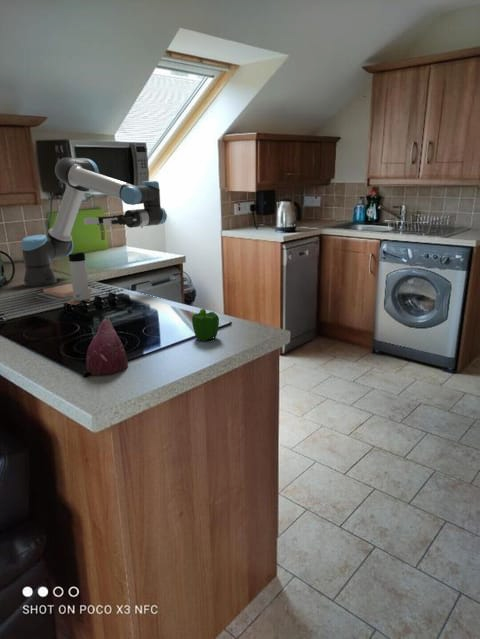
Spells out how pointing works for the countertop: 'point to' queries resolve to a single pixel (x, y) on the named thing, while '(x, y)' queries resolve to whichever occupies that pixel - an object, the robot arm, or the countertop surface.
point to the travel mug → (79, 277)
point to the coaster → (76, 302)
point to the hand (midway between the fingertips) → (93, 222)
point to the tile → (61, 291)
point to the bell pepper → (205, 324)
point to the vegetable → (106, 352)
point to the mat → (67, 297)
